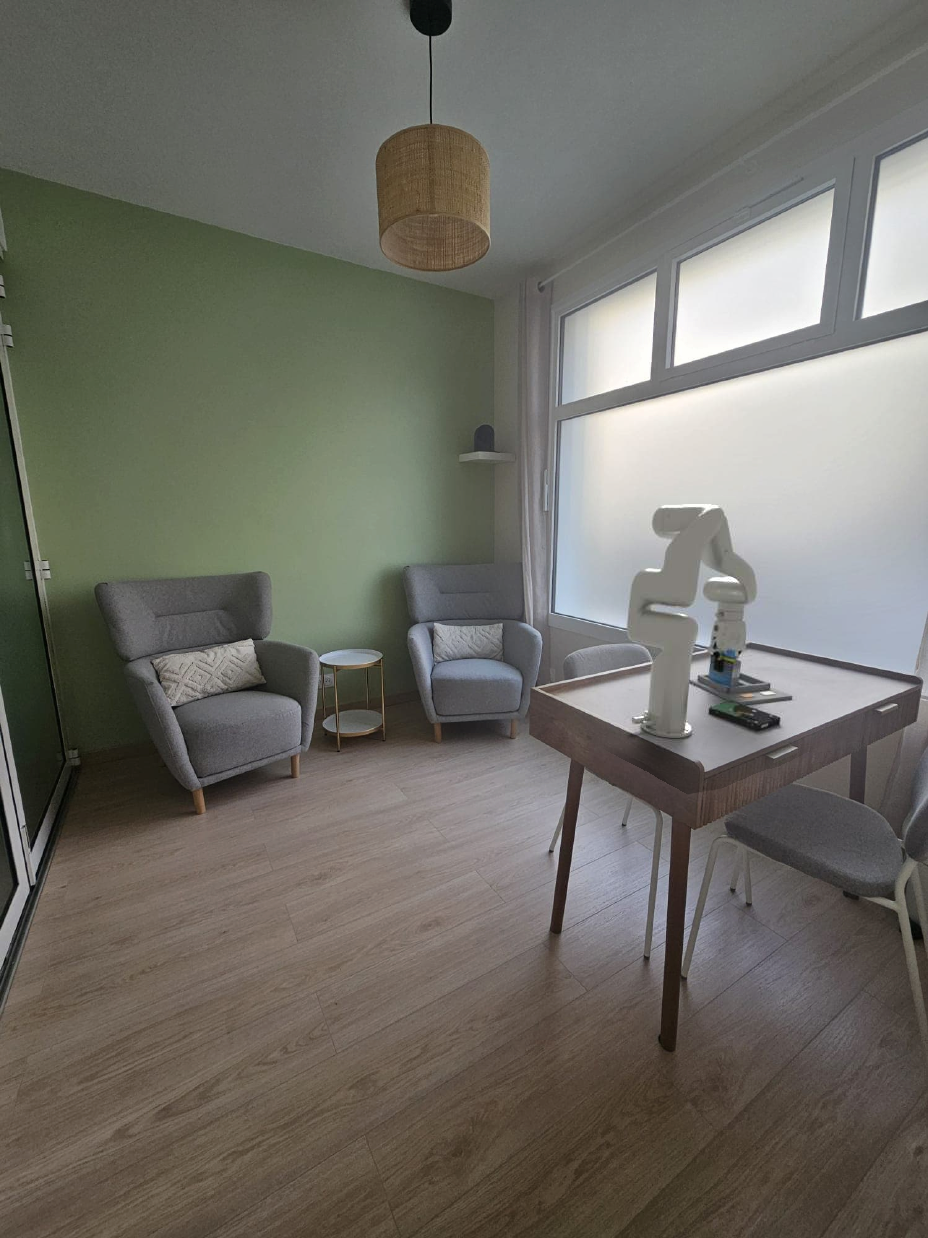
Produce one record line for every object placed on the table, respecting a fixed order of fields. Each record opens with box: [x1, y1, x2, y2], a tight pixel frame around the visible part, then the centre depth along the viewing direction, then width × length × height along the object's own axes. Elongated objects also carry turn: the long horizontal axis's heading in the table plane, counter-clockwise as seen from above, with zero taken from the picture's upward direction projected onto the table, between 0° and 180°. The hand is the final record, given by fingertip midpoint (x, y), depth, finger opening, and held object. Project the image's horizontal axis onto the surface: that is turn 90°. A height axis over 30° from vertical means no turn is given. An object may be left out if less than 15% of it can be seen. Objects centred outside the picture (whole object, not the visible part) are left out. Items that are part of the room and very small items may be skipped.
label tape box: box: [708, 649, 742, 687], centre depth 165 cm, size 9×4×12 cm, turn 24°
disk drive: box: [708, 700, 781, 733], centre depth 142 cm, size 10×3×15 cm
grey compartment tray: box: [689, 671, 793, 706], centre depth 165 cm, size 20×22×3 cm
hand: (724, 669), depth 165 cm, fingers closed on label tape box, 4 cm apart
